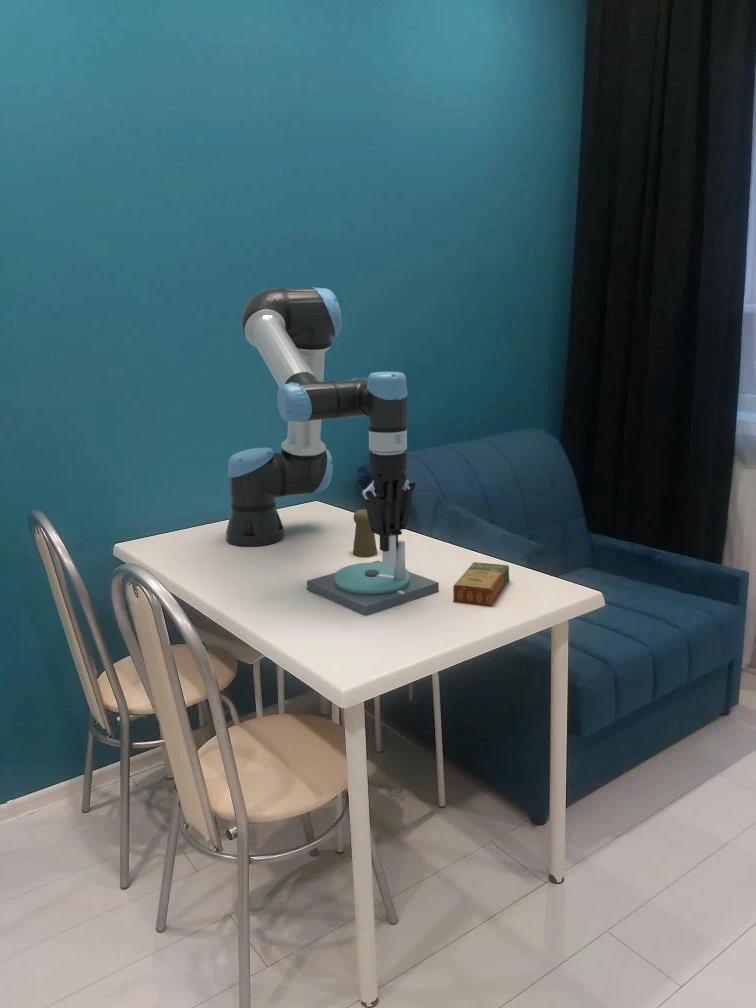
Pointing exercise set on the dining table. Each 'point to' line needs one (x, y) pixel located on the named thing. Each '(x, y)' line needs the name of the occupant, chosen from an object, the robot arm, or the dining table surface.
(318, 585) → the base plate
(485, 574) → the carton
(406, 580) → the dial
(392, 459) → the robot arm
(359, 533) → the cork
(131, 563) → the dining table surface
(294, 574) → the dining table surface
